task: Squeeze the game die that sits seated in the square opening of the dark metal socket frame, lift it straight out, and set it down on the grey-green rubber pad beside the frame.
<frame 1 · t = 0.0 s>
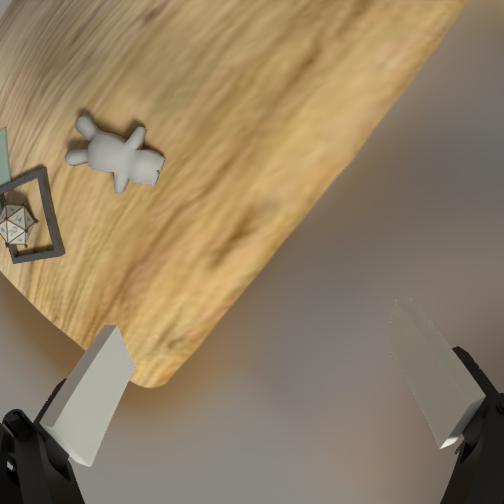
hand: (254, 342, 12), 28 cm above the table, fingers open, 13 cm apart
game die: (29, 218, 39), on the table
socket frame: (28, 218, 39), on the table
grey teddy bear: (121, 152, 36), on the table
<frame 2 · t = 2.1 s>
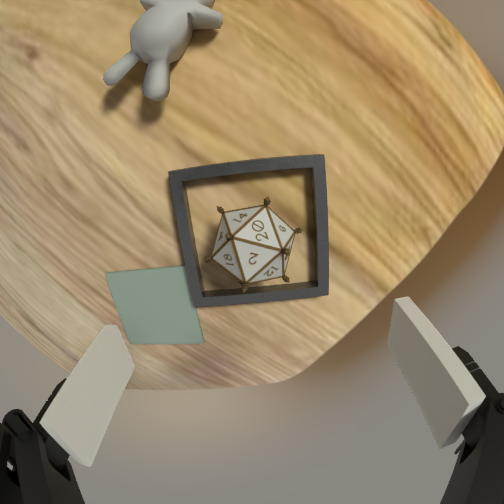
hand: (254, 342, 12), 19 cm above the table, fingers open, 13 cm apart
game die: (253, 231, 30), on the table
socket frame: (253, 232, 30), on the table
grey teddy bear: (172, 38, 23), on the table
pad: (154, 308, 34), on the table
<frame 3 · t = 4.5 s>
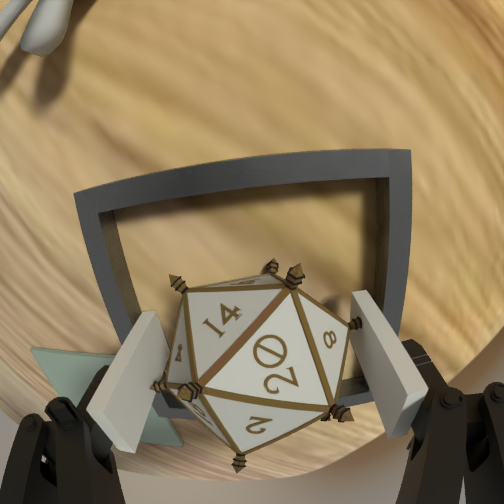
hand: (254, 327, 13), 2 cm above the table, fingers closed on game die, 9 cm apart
game die: (258, 307, 15), on the table, touching gripper
socket frame: (255, 309, 15), on the table
pad: (105, 401, 18), on the table
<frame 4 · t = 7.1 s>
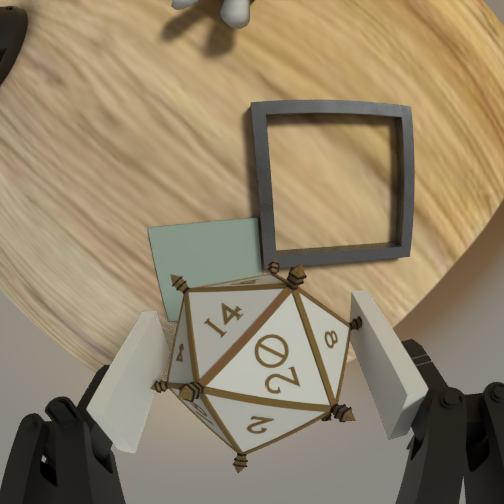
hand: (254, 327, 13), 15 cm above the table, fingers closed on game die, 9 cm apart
game die: (259, 307, 15), point 13 cm above the table, touching gripper
socket frame: (338, 181, 25), on the table
pad: (208, 273, 29), on the table
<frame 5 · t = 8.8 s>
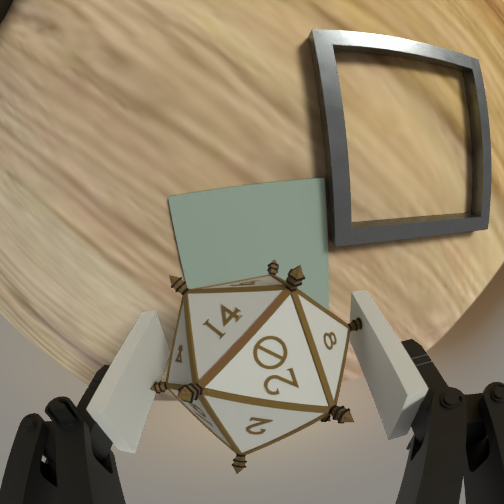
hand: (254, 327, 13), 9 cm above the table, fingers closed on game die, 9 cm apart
game die: (258, 308, 15), point 7 cm above the table, touching gripper
socket frame: (416, 135, 17), on the table
pad: (254, 258, 21), on the table
when the fingers open (3 cm above the table, at t = 10.2 s): game die drops 1 cm, resting on pad.
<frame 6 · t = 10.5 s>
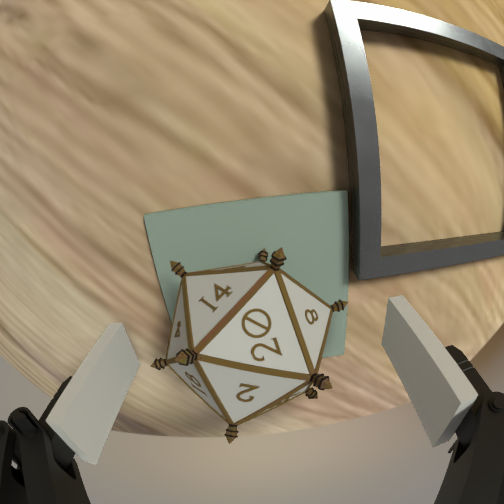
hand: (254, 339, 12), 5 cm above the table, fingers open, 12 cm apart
game die: (250, 294, 16), resting on pad
socket frame: (455, 138, 13), on the table
pad: (255, 292, 17), on the table
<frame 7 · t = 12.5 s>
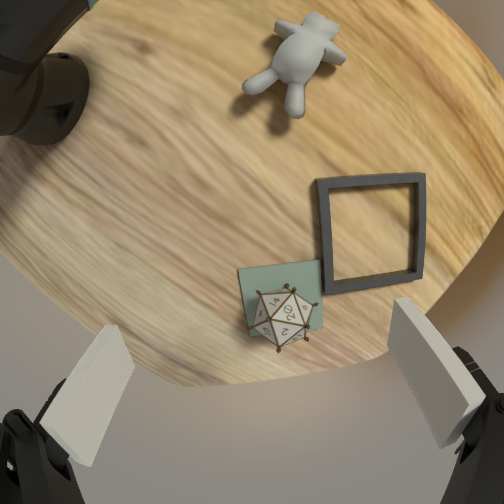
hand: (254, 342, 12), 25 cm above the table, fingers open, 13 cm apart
game die: (281, 300, 39), resting on pad
socket frame: (374, 231, 36), on the table
grey teddy bear: (297, 63, 29), on the table
pad: (283, 300, 39), on the table
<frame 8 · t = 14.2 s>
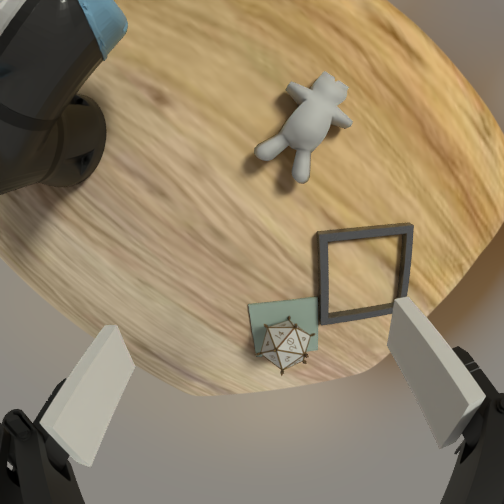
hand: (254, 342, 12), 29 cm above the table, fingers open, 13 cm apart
game die: (283, 329, 46), resting on pad
socket frame: (365, 273, 42), on the table
grey teddy bear: (305, 123, 35), on the table
pad: (285, 328, 46), on the table
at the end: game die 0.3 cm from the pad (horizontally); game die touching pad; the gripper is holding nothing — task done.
